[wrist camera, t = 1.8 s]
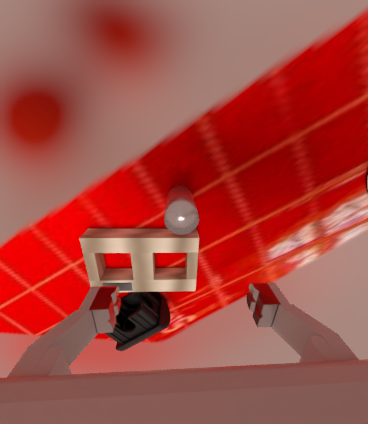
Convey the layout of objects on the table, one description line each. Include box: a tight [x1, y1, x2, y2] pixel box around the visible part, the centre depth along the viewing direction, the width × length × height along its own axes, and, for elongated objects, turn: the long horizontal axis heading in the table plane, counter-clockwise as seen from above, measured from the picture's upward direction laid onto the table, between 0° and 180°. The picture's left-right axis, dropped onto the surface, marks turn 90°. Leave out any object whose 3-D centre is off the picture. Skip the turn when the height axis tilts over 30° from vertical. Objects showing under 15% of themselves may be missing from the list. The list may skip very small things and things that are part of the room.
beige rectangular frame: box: [79, 229, 199, 292], centre depth 30 cm, size 18×11×3 cm, turn 88°
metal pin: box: [164, 185, 199, 235], centre depth 24 cm, size 4×4×8 cm
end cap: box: [105, 292, 170, 351], centre depth 34 cm, size 10×7×7 cm
